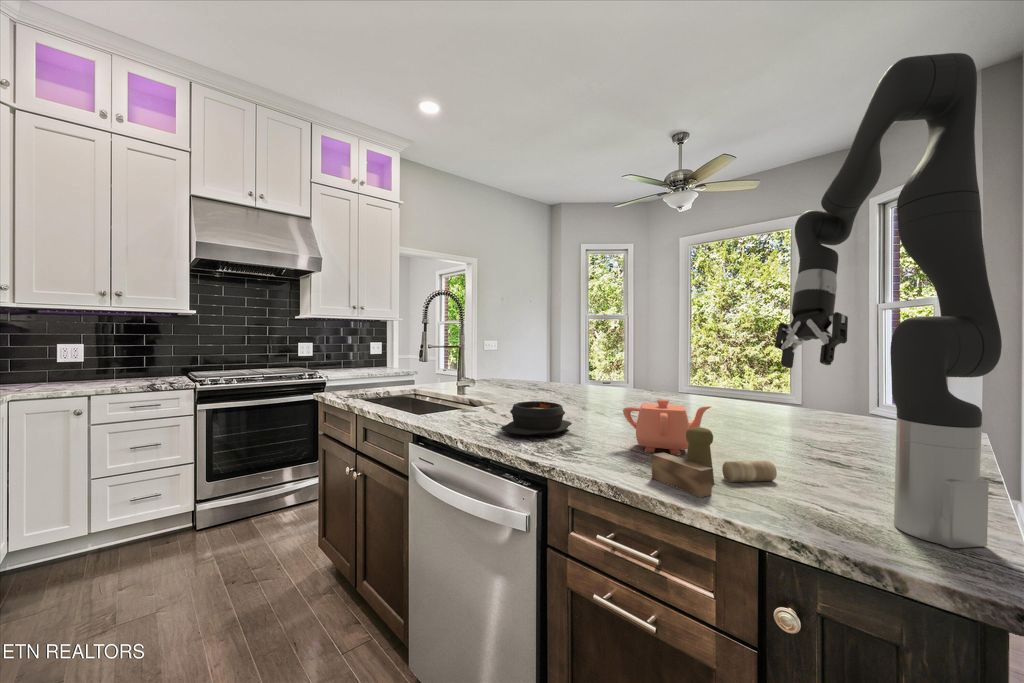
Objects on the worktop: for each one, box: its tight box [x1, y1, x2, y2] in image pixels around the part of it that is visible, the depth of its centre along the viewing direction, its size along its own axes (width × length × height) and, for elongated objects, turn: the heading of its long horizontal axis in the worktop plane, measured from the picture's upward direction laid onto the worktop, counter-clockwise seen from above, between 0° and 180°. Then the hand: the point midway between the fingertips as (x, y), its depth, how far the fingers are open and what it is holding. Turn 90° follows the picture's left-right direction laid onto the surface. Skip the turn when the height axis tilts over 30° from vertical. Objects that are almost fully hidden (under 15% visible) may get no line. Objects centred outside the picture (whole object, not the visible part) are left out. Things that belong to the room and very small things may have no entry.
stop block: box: [651, 452, 714, 498], centre depth 85 cm, size 12×3×5 cm, turn 27°
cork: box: [685, 426, 715, 486], centre depth 88 cm, size 6×6×11 cm
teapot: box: [622, 399, 713, 455], centre depth 113 cm, size 17×16×13 cm
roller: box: [721, 460, 778, 483], centre depth 89 cm, size 9×4×4 cm
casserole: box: [500, 400, 573, 436], centre depth 132 cm, size 25×19×8 cm
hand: (805, 365), depth 90 cm, fingers open, 8 cm apart
